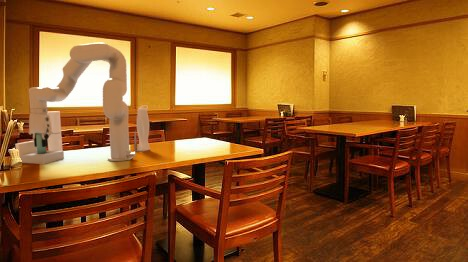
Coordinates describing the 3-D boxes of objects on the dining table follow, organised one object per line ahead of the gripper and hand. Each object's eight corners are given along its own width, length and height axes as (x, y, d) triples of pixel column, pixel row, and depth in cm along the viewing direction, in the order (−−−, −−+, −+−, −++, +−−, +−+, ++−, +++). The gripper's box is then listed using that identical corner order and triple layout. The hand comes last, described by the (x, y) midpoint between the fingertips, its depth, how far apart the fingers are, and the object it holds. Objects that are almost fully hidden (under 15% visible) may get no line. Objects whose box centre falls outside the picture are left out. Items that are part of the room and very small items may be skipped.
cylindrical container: (56, 155, 182) (53, 112, 180) (45, 155, 184) (42, 112, 181) (65, 153, 189) (62, 111, 186) (55, 153, 191) (52, 111, 188)
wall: (42, 157, 176) (40, 140, 175) (20, 163, 162) (18, 143, 161) (39, 157, 176) (37, 140, 175) (17, 163, 163) (15, 143, 161)
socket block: (64, 158, 173) (63, 151, 172) (43, 163, 159) (42, 155, 159) (42, 157, 176) (41, 150, 175) (20, 162, 162) (19, 155, 162)
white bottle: (144, 148, 203) (142, 104, 200) (153, 150, 198) (151, 105, 195) (133, 150, 196) (131, 105, 193) (142, 152, 191) (140, 105, 188)
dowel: (48, 152, 168) (46, 134, 167) (42, 154, 165) (40, 134, 163) (41, 152, 169) (40, 133, 168) (35, 153, 165) (34, 134, 164)
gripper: (58, 111, 166) (60, 146, 168) (31, 111, 170) (33, 144, 172) (46, 112, 159) (49, 148, 161) (19, 111, 163) (21, 147, 165)
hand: (41, 146), depth 166 cm, fingers closed on dowel, 4 cm apart
